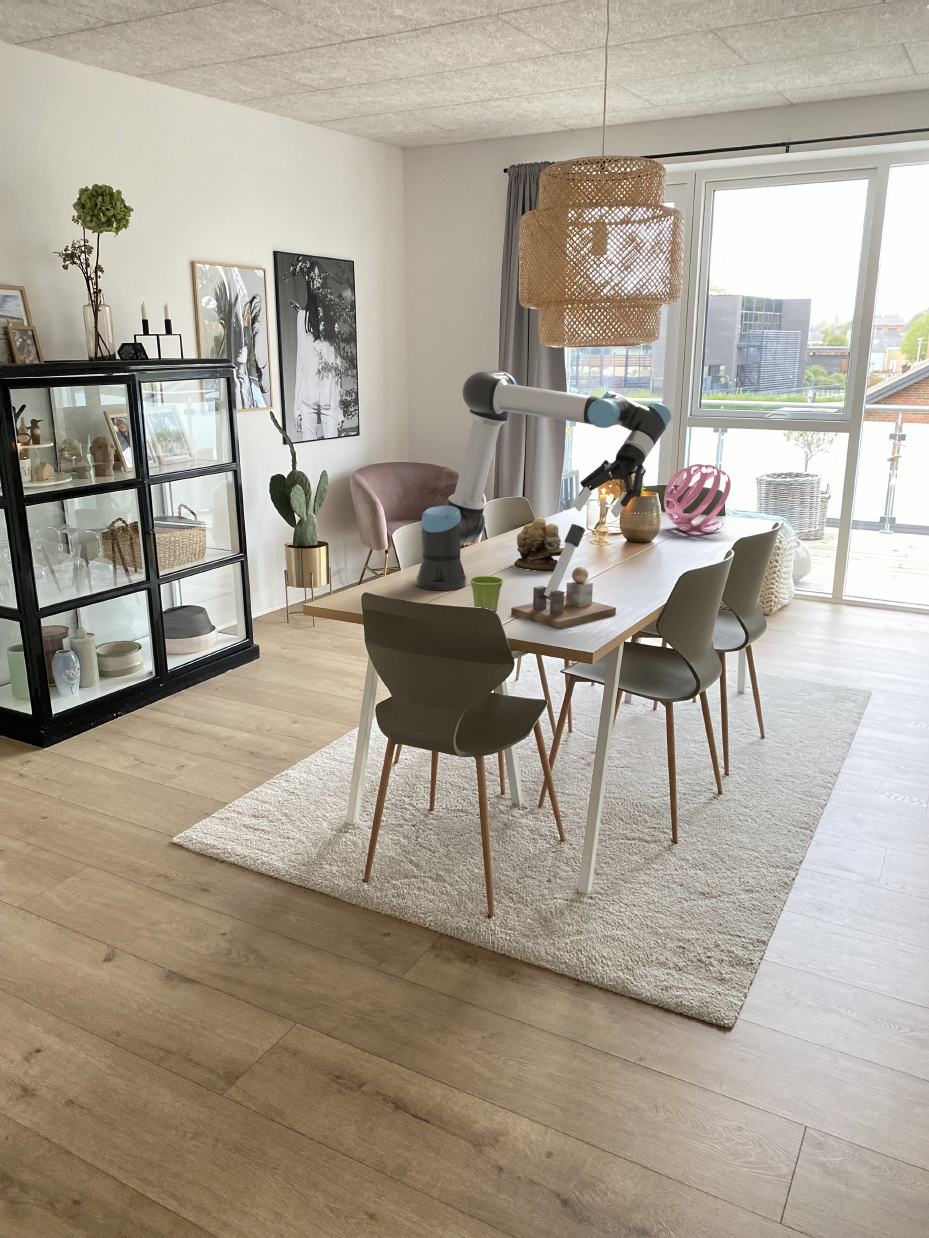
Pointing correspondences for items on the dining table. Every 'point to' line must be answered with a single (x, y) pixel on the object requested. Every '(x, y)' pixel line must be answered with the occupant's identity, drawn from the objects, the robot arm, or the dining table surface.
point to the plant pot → (486, 591)
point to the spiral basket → (691, 495)
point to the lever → (564, 558)
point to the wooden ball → (579, 574)
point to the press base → (564, 607)
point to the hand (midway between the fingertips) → (594, 511)
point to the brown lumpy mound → (538, 546)
